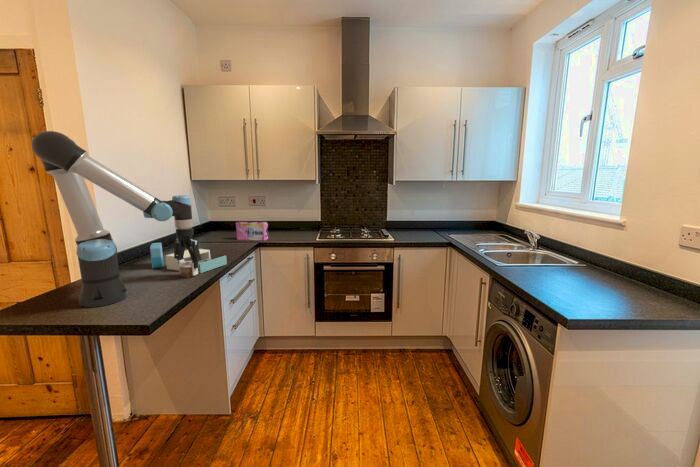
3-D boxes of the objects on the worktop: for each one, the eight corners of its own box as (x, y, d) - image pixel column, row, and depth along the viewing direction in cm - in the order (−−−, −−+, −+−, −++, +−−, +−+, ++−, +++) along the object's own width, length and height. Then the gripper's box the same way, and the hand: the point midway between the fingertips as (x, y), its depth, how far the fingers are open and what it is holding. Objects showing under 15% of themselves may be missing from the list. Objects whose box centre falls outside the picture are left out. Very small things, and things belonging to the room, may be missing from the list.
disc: (187, 268, 147) (186, 265, 147) (175, 267, 150) (174, 263, 150) (200, 264, 154) (200, 261, 154) (189, 262, 157) (188, 259, 157)
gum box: (270, 238, 244) (269, 221, 242) (266, 240, 236) (265, 223, 234) (241, 238, 247) (240, 221, 245) (236, 240, 239) (235, 222, 237)
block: (188, 277, 150) (187, 267, 149) (181, 276, 152) (180, 266, 151) (197, 274, 154) (196, 265, 153) (189, 273, 156) (188, 264, 155)
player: (210, 262, 176) (209, 250, 175) (183, 271, 160) (181, 257, 159) (195, 260, 181) (194, 248, 180) (166, 268, 165) (165, 255, 163)
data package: (159, 246, 164) (161, 242, 174) (149, 247, 162) (151, 242, 172) (162, 268, 166) (163, 262, 176) (152, 269, 164) (154, 263, 174)
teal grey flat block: (226, 264, 171) (226, 255, 171) (200, 273, 156) (199, 263, 155) (209, 261, 176) (209, 253, 175) (182, 270, 160) (181, 261, 159)
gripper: (206, 228, 148) (210, 273, 152) (176, 225, 156) (180, 269, 160) (193, 230, 141) (198, 278, 145) (162, 227, 149) (167, 273, 153)
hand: (189, 273), depth 153 cm, fingers closed on disc, 8 cm apart
